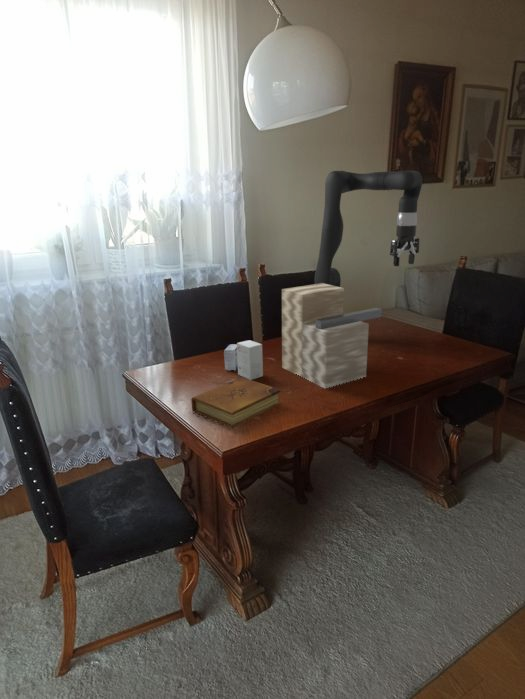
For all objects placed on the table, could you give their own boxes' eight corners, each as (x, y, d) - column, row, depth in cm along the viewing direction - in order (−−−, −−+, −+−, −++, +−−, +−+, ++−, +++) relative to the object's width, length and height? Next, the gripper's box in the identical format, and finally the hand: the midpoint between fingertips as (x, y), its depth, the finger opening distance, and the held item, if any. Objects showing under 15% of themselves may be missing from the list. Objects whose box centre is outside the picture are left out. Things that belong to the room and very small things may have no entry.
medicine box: (235, 371, 200) (234, 350, 197) (224, 370, 201) (223, 349, 198) (240, 364, 207) (239, 344, 205) (229, 363, 208) (229, 343, 206)
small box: (263, 376, 194) (262, 344, 190) (250, 380, 190) (249, 347, 186) (250, 370, 200) (249, 339, 196) (237, 374, 196) (236, 342, 192)
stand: (282, 367, 203) (281, 289, 193) (320, 358, 213) (322, 283, 203) (325, 388, 181) (327, 301, 171) (366, 377, 192) (370, 294, 182)
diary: (240, 391, 182) (240, 376, 180) (280, 405, 170) (280, 389, 168) (192, 412, 166) (191, 396, 164) (232, 429, 154) (231, 411, 152)
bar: (315, 327, 181) (315, 319, 180) (375, 315, 197) (376, 307, 196) (320, 329, 179) (321, 321, 178) (381, 316, 194) (381, 309, 193)
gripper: (411, 222, 206) (408, 262, 211) (386, 224, 199) (384, 265, 204) (426, 223, 200) (422, 264, 205) (401, 225, 193) (398, 268, 198)
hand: (403, 265), depth 205 cm, fingers open, 8 cm apart
